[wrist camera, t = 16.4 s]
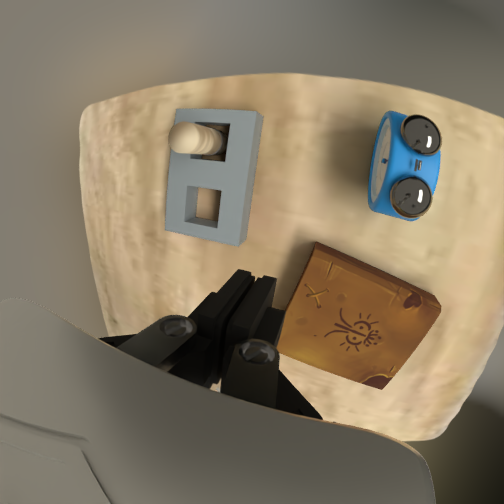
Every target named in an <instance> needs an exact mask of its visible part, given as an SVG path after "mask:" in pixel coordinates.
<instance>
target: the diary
mask: <svg viewBox="0 0 504 504" xmlns="http://www.w3.org/2000/svg"><path fill="white" fill-rule="evenodd" d="M285 311H286V315H285V319H284V323H283V327H282V331H281V335H280V339H279V342H278V345H277V350H278V351H279V353H281V354H283V355H286V356H288V357H291V358H293V359H296V360H298V361H301V362H303V363H306V364H308V365H311V366H314V367H316V368H319V369H322V370H324V371H327V372H330V373H333V374H335V375H338V376H341V377H344V378H347V379H350V380H353V381H356V382H359V383H362V384H365V385H368V386H371V387H374V388H378V389H381V390H382V389H383V388H384V387H385V386H386V385H387V384H388V383H389V381H390V380H391V379H392V378H393V377H394V376H395V374H396V373H397V372H398V371H399V370H400V368H401V367H402V366H403V365H404V363H405V362H406V361H407V360H408V358H409V357H410V356H411V354H412V353H413V352H414V350H415V349H416V348H417V346H418V345H419V344H420V342H421V341H422V340H423V338H424V337H425V335H426V334H427V332H428V331H429V330H430V328H431V327H432V325H433V324H434V322H435V321H436V319H437V318H438V316H439V314H440V313H441V305H440V303H439V302H438V300H437V299H436V297H435V296H434V295H432V294H430V293H428V292H426V291H424V290H422V289H420V288H418V287H416V286H413V285H411V284H409V283H407V282H405V281H403V280H401V279H399V278H397V277H394V276H392V275H390V274H388V273H386V272H384V271H381V270H379V269H377V268H375V267H373V266H371V265H368V264H366V263H364V262H362V261H359V260H357V259H355V258H353V257H350V256H348V255H346V254H344V253H341V252H339V251H337V250H335V249H332V248H330V247H328V246H325V245H323V244H321V243H318V242H316V244H315V246H314V248H313V251H312V253H311V255H310V257H309V260H308V262H307V264H306V266H305V269H304V271H303V273H302V275H301V277H300V280H299V282H298V284H297V286H296V288H295V290H294V293H293V295H292V297H291V299H290V301H289V303H288V305H287V307H286V309H285Z"/></svg>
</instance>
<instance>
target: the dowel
mask: <svg viewBox="0 0 504 504" xmlns="http://www.w3.org/2000/svg"><path fill="white" fill-rule="evenodd" d="M168 140H169V145H170V147H171V148H172V150H173V151H175V152H177V153H187V154H204V155H220V154H222V153H223V152H225V151H226V150H227V145H228V137H227V136H226V134H225V133H224V132H222V131H219V130H217V129H214V128H208V127H205V126H201V125H197V124H194V123H190V122H185V121H183V122H179V123H177V124H176V125H174V126H173V127H172V129H171V131H170V133H169V138H168Z"/></svg>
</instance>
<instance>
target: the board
mask: <svg viewBox="0 0 504 504" xmlns="http://www.w3.org/2000/svg"><path fill="white" fill-rule="evenodd" d="M263 117H264V116H262V115H261V114H260V113H258V112H257V111H245V110H228V109H176V116H175V123H174V125H176V124H177V123H179V122H183V121H185V122H190V123H194V124H197V125H201V126H205V127H206V125H218V126H230V130H229V137H228V145H227V152H226V160H225V161H218V160H208V159H202V154H187V153H177V152H175V151H173V150H172V148H171V155H170V165H169V175H168V187H167V201H166V218H165V230H166V231H171V232H175V233H180V234H184V235H189V236H193V237H198V238H202V239H206V240H211V241H215V242H220V243H224V244H229V245H233V246H240V245H241V244H242V243H243V242H244V241H245V240H246V237H247V230H248V222H249V215H250V208H251V201H252V194H253V186H254V179H255V172H256V165H257V158H258V151H259V144H260V137H261V130H262V123H263ZM198 187H202V188H208V189H215V190H221V191H222V192H221V201H220V210H219V219H218V221H213V220H208V219H203V218H198V217H196V207H197V196H198Z"/></svg>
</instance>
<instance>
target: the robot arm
mask: <svg viewBox="0 0 504 504" xmlns="http://www.w3.org/2000/svg"><path fill="white" fill-rule="evenodd" d="M276 281H277V278H273V277H269V276H265V275H264V276H263V277H262V278H259V277H258V278H257V280H256V281H255V276H251V272H248V271H244V270H240V269H238V270H237V271H236V272H235V273H234V274H233V276H232V277H231V278H230V279H229V280H228V281H227V282H226V283H225V284H224V285H223V287H222V288H221V289H220V290H219V291H218V292H217V293H215V292H211V293H210V294H209V295H208V296H207V297H206V298H205V299H204V300H203V301H202V302H201V303H200V305H199V306H198V307H197V308H196V309H195V310H194V311H193V312H192V313H191V314H190V315H189V316H188V317H185V316H181V315H169V316H165V317H163V318H161V319H159V320H157V321H156V322H154V323H153V324H151V325H150V326H148V327H147V328H145V329H144V330H142V331H141V332H139V333H138V334H132V335H123V336H113V337H104V338H99V339H98V338H96V337H94V336H92V335H91V334H89V333H87V332H85V331H84V330H82V329H80V328H78V327H77V326H75V325H74V324H72V323H70V322H69V321H67V320H66V319H64V318H62V317H60V316H59V315H57V314H55V313H53V312H52V311H50V310H49V309H47V308H45V307H43V306H41V305H39V304H37V303H34V302H32V301H29V300H26V299H20V298H8V299H5V300H3V301H0V504H435V494H434V488H433V482H432V478H431V474H430V471H429V468H428V466H427V463H426V461H425V460H424V458H423V457H422V455H421V454H420V453H419V452H418V451H417V450H415V449H414V448H412V447H411V446H409V445H407V444H406V443H404V442H402V441H399V440H397V439H395V438H392V437H390V436H388V435H385V434H381V433H378V432H375V431H372V430H368V429H363V428H359V427H355V426H351V425H345V424H340V423H336V422H329V421H325V420H323V418H322V417H321V416H320V414H319V413H318V412H317V411H316V410H315V409H314V407H313V406H312V405H311V404H310V403H309V402H308V401H307V400H306V399H305V398H304V397H303V396H302V394H301V393H300V392H299V391H298V390H297V389H296V388H295V387H294V386H293V385H292V383H291V382H290V381H289V380H288V379H287V378H286V377H285V376H284V374H283V373H282V372H281V371H280V370H279V360H280V355H279V351H278V350H277V345H278V342H279V339H280V335H281V331H282V327H283V323H284V319H285V315H286V311H283V310H279V309H275V308H271V307H272V302H273V297H274V292H275V286H276ZM215 390H217V391H218V392H217V391H215Z"/></svg>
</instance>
